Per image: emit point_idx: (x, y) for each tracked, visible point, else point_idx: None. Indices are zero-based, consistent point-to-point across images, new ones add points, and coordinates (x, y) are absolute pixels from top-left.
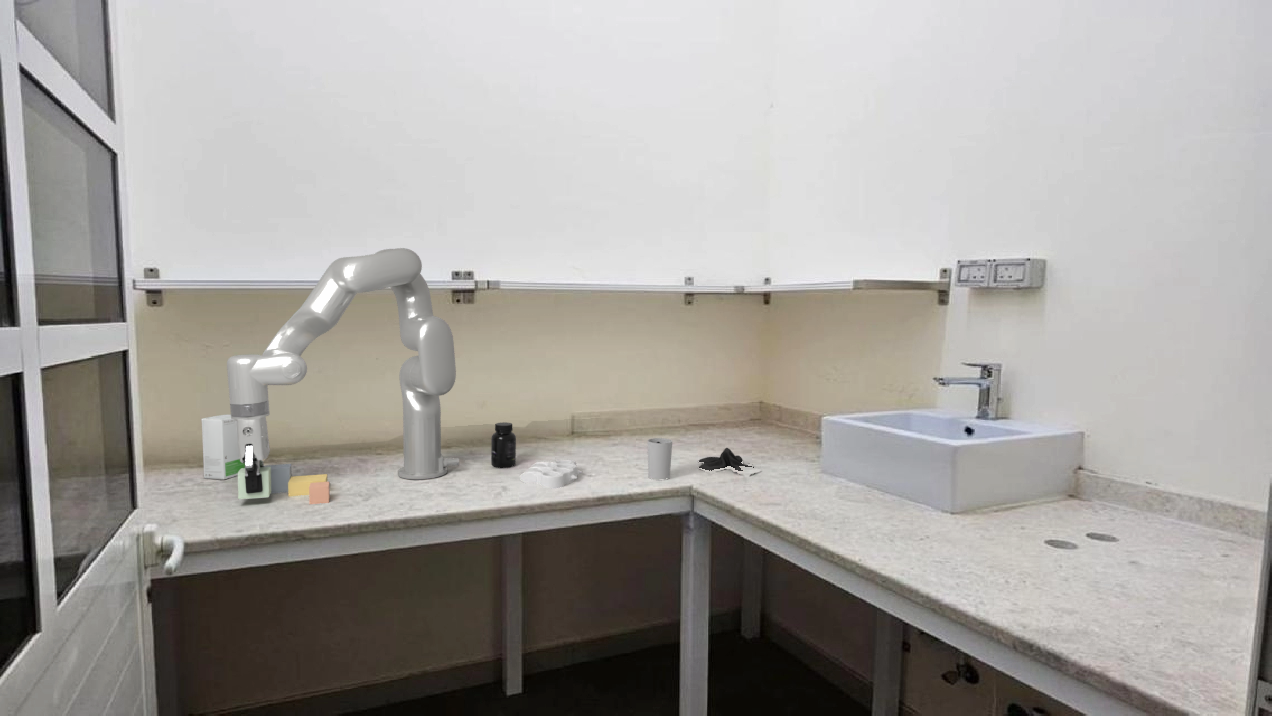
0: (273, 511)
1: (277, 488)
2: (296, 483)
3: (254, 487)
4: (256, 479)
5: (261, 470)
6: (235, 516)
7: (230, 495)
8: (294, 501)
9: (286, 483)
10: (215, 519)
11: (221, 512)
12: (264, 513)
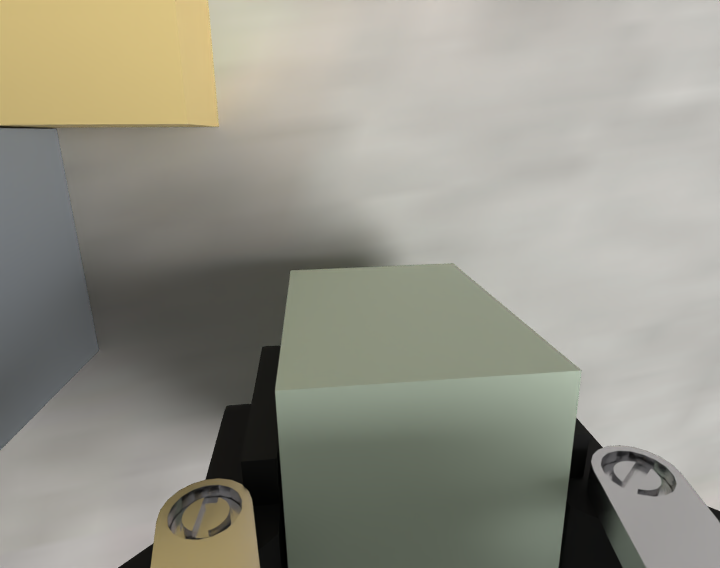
0: (617, 189)
1: (56, 245)
2: (180, 24)
3: None
4: (595, 445)
5: (503, 473)
6: (620, 407)
7: (97, 543)
8: (396, 53)
9: (14, 166)
10: None
11: None
12: (638, 244)
